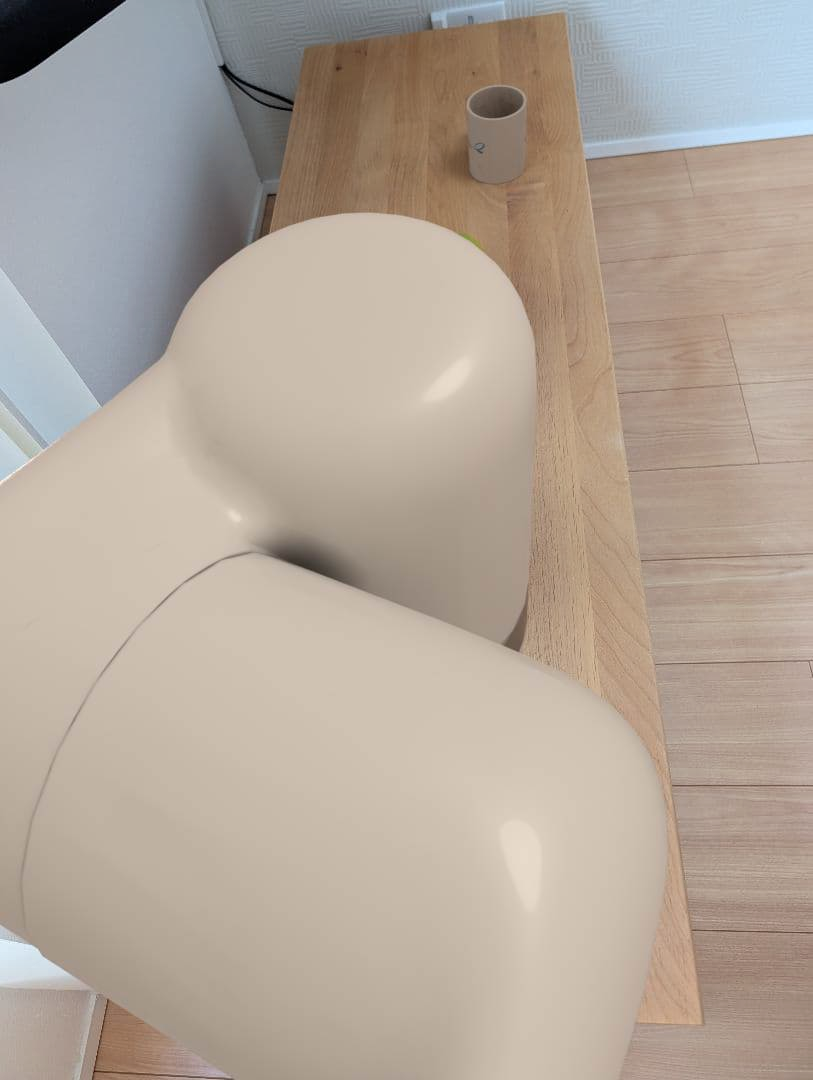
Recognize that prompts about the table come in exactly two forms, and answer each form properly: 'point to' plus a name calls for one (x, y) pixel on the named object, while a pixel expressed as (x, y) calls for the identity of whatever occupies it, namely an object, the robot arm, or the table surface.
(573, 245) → the table surface
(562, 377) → the table surface
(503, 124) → the mug
